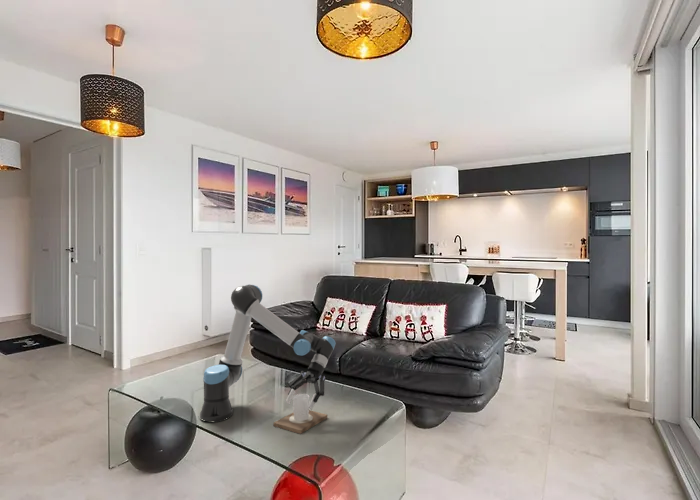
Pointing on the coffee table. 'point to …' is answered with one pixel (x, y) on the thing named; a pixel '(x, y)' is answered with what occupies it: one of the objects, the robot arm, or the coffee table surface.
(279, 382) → the coffee table surface
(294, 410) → the white cup
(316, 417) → the serving board
